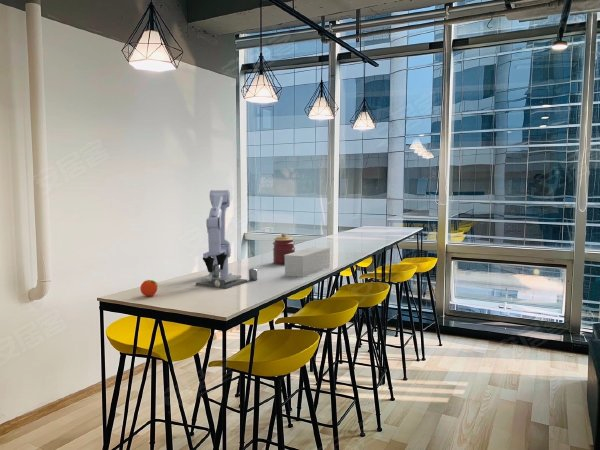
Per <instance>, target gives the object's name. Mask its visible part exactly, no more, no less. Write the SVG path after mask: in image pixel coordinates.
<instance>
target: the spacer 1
mask: <svg viewBox="0 0 600 450" xmlns="http://www.w3.org/2000/svg"><path fill="white" fill-rule="evenodd" d="M212 277H220V264H213V272H212Z"/></svg>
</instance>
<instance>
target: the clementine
mask: <svg viewBox="0 0 600 450" xmlns="http://www.w3.org/2000/svg"><path fill="white" fill-rule="evenodd" d="M158 286H159V285H158V283H157V282H156V281H155V280H152V279H147V280H146V279H145V280H144V281H143V282H142V283H141V285H140V289H139V290H140V292H141V294H142V295H143V296H145V297H152V296H154V295H155V294H156V293H157V292H158Z"/></svg>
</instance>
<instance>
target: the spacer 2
mask: <svg viewBox="0 0 600 450" xmlns="http://www.w3.org/2000/svg"><path fill="white" fill-rule="evenodd" d="M256 280H257V281H258V268H255V267H254V268H253V267H251V268H248V281H249V282H257V281H256Z"/></svg>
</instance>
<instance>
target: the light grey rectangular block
mask: <svg viewBox="0 0 600 450" xmlns="http://www.w3.org/2000/svg"><path fill="white" fill-rule="evenodd" d="M330 249H331V248H330V247H323V246H322V247H317V246H311V247H308V248H303V249H301V250H297V251H295V252H293V253H290V254H286V255H284V257H285V264H284V276H287V277H288V276H289V277H300V278H304V277H308V276H309V275H312V274H315V273H317V272H320V271H323V270H324V269H327V268H330V266H331V263H330V262H331V260H330V259H331V250H330Z"/></svg>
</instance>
